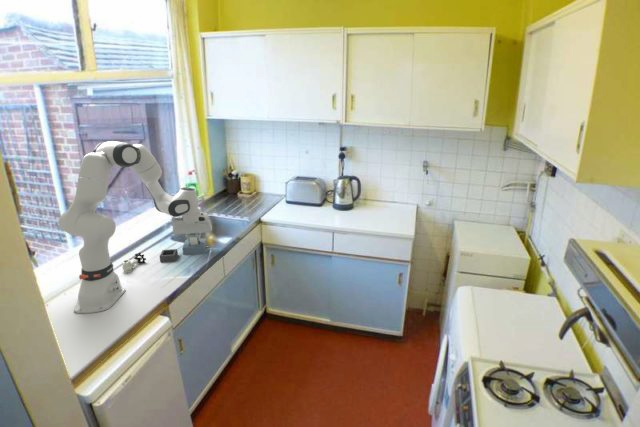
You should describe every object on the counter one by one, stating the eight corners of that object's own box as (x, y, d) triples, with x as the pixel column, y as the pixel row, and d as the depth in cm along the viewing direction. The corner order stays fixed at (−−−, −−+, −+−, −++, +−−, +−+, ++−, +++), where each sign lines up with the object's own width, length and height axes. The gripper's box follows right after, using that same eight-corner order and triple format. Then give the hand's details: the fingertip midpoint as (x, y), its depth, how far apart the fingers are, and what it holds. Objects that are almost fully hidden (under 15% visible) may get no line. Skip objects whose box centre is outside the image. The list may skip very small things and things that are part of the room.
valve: (131, 275, 190) (147, 264, 201) (128, 264, 188) (145, 253, 199) (119, 274, 192) (136, 263, 202) (117, 262, 189) (134, 251, 200)
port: (204, 254, 211) (203, 246, 209) (183, 256, 209) (182, 247, 208) (206, 246, 221) (205, 237, 219) (186, 247, 220) (185, 239, 218)
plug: (198, 249, 213) (196, 234, 210) (191, 250, 213) (189, 235, 210) (198, 246, 217) (197, 232, 213) (192, 247, 216) (190, 232, 213)
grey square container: (175, 262, 202) (174, 255, 201) (160, 264, 201) (159, 256, 200) (178, 256, 209) (177, 249, 208) (163, 257, 208) (162, 249, 207)
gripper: (169, 219, 204) (173, 243, 208) (209, 217, 206) (212, 241, 211) (172, 215, 209) (175, 239, 214) (210, 213, 212) (213, 236, 217)
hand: (194, 240), depth 213 cm, fingers closed on plug, 4 cm apart
